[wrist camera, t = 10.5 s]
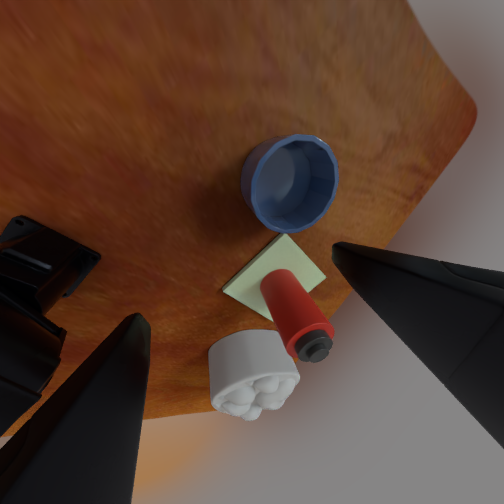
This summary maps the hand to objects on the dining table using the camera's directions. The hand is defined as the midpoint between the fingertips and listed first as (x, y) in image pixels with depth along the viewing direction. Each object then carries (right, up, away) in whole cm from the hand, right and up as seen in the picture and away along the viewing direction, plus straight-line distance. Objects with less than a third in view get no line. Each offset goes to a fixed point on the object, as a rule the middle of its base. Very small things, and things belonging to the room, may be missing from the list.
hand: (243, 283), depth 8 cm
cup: (+3, +9, +11) cm, 15 cm away
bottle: (+4, -3, +17) cm, 18 cm away
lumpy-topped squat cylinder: (-1, -16, +25) cm, 29 cm away
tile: (+4, -3, +18) cm, 19 cm away
